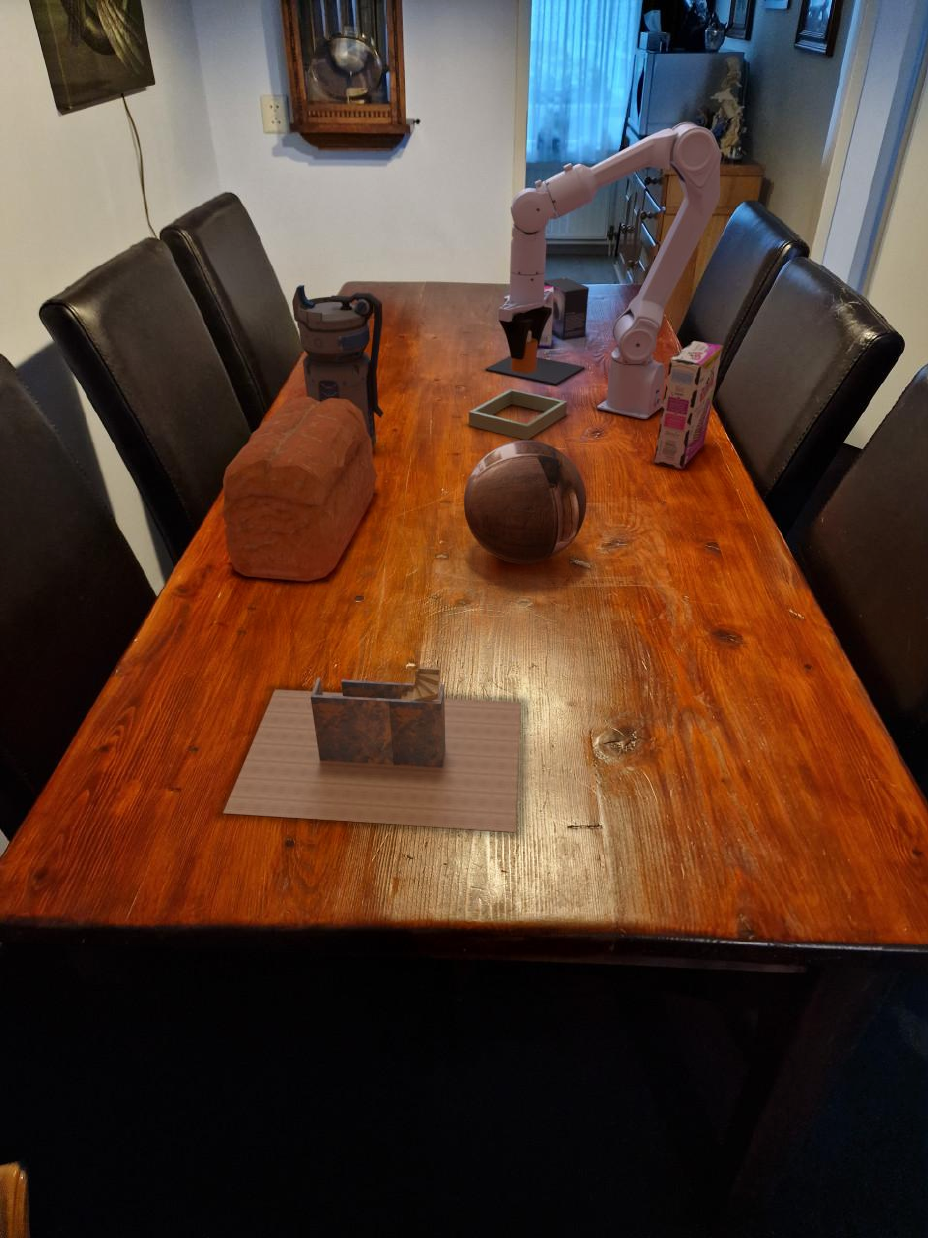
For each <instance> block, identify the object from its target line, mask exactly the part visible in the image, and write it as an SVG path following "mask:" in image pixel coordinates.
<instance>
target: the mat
mask: <svg viewBox="0 0 928 1238" xmlns="http://www.w3.org/2000/svg"><path fill="white" fill-rule="evenodd" d="M585 369H586V366H583V365H577V364H574V363H568V362H562V361H558V360H553V359H548V358H543V357H538V356H537V363H536V371H534V372H532V373H517V372H514V371H512V370H511V355H510V356H507V357H505V358H504V359H502V360H500V361H498V362H496V363H494V364H492V365H490V366H488V367H486V368H485V371H486V372H491V373H497V374H499V375H504V376H509V377H513V378H518V379H522V380H526V381H527V380H528V381H532V382H537V383H542V384H545V385H550V386H551V385H552V386H558V385H560V384H561V383H563V382H564V381H566V380H568V379H569V378H571V377H573V376H575V375H576V374H578V373H580V372H582V371H583V370H585Z"/></svg>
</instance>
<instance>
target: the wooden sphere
mask: <svg viewBox="0 0 928 1238" xmlns="http://www.w3.org/2000/svg"><path fill="white" fill-rule="evenodd" d="M463 511H464V518H465V520H466V524H467V527H468V528H469V531H470V532H471V533H470V534H472V536H473V538H474V539H475V541H476V542H477V543H478V544H479V545H480V546H481V547H482V548H483V549H484V550H485V551H486V552H488V553H489V554H490V555H492V556H493V557H495V558H498V559H500V560H502V561H504V562H507V563H512V564H518V565H530V564H531V565H532V564H536V563H537V564H538V563H541V562H544V561H547V560H550V559H552V558H554V557H556V556H557V555H559V554H560V553H562V552H563V551H565V549H567V548H568V547H569V546H570V545H571V544H572V542H573V541H574V540H575V539H576V537H577V536H578V534H579V532H580V530H581V528H582V526H583V523H584V521H585V517H586V512H587V491H586V487H585V482H584V479H583V477H582V475H581V473H580V471H579V469H578V468H577V466H576V465H575V464H574V462H573V461H572V459H570V457H568V456H567V455H566V454H565V453H563V452H562V451H560V450H559V449H557V448H556V447H554V446H552V445H550V444H547V443H544V442H541V441H536V440H516V441H511V442H507V443H504V444H502V445H500V446H497V447H495V448H494V449H492V450H491V451H489V452H488V453H486V454H485V455H484V456H483V457H482V458H481V459H480V461H478V462H477V464H476V465H475V467H474V468H473V469H472V471H471V473H470V475H469V477H468V479H467V482H466V485H465V489H464V495H463Z"/></svg>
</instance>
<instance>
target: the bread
mask: <svg viewBox="0 0 928 1238" xmlns="http://www.w3.org/2000/svg"><path fill="white" fill-rule="evenodd" d="M373 459H374V458H373V449H372V439H371V438H370V436H369V434H368V433H367V429H366V423H365V420H364V417H363V414H362V411H361V410H360V409H359V408H358V407H356V406H355V405H354V404H353V403H352V402H350V401H349V400H348V399H337V398H329V399H326V400H324V401H322V402H319V401H317V400H315V399H313V398H311V397H307V396H300V397H295V398H293V399H291V400H289V401H288V402H287V403H285V404H284V405H282V407H280V408H279V410H277V412H275V413H274V414H273V415H272V416H271V417H270V418H269V419H267V420H266V421H264V422H262V423H261V424H260V427H259V428H258V429H256V430H254V432H252V433H251V436H250V437H249V440H248V442H247V443H246V444H245V445H243V446H242V447H241V448H240V450H239V451H238V452H237V454H236V455H235V457H234V458H233V459H232V461H230V463H229V464H228V466H227V467H225V471H224V476H223V479H222V485H223V496H224V499H223V506H222V512H221V514H222V517H223V520H224V523H225V526H226V527H225V530H224V535H225V542H226V543H225V545H226V551H227V554H228V556H229V559H230V561H231V563H232V566H233V569H234V571H236V572H237V573H238V574H240V575H242V576H244V577H251V578H252V577H253V578H262V579H273V580H283V581H284V580H286V581H296V582H311V581H316V580H320V579H324V578H326V577H327V576H328V575H329V574H330V573H331V572H332V571H334V569H335V568H336V567H337V565H338V563H339V561H340V559H341V558H342V556H343V554H344V552H345V550H346V549H347V547H348V545H349V543H350V542H351V541H352V538H353V536H354V535H355V533H356V531H357V528H358V526H360V525H359V524H360V522H361V521H362V520H363V519H362V518H363V517H364V515H365V513H366V511H367V509H368V507H370V504H371V502H372V501H373V497H374V494H375V488H376V483H377V477H378V474H377V471H376V468H375V467H374V460H373Z"/></svg>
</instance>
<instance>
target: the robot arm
mask: <svg viewBox="0 0 928 1238" xmlns="http://www.w3.org/2000/svg"><path fill="white" fill-rule="evenodd" d="M722 155H723V154H722V151H721V149H720V147H719V144H718V142H717V139H716V137H715V135H714V133H713V132H712V131H711V130H709V129H708V128H706V127H704V126H699V125H697V124H696V123H694V122H691V121H683V122H680V123H677V124H676V125H674V126H673V127H672V128H670V127H669V128H665V129H662V130H659V131H657V132H655V133H653V134H651V135H648V136H646V137H644V138H643V139H640V140H638V141H637V142H635V143H633V144H632V145H630V146H627V147H626V148H624V149H622V150H621V151H619V152H616V153H614V154H613V155H612V156H610V157H608V158H606V159H604V160H602V161H599V162H598V163H597V164H594V165H593V166H590V167H589V166H586V165H584V164H582V163H577V164H575V165H573V164H572V163H571V162H569V163H568V164H565V165H563V171H561V172H558V173H557V174H555V175H553V176H551V177H549V178H547V179H546V180H543V181H542V180H541V179H538V180H536V181H534V186H535V188H532V187H526V188H523V189H522V190H520V191H518V192H517V194H515V196H514V198H513V200H512V202H511V206H510V214H511V217H512V221H513V224H512V227H511V237H512V239H511V241H510V265H509V267H510V268H509V269H510V271H509V275H510V276H509V295H505V296H504V297H503V302H505V303H504V304H503V305H502V306H500V307H499V308H498V322H499V324H500V326H501V327H502V330H503V332H504V334H505V337H506V341H507V345H508V350H509V353H510V356H511V358H515V359H520V360H522V359H523V357H524V354H525V347H526V340H527V335H528V332H529V331H531V332H532V333H531V338H535V339H536V340H537V341H538V342H537V351H538V350H539V348H538V347H539V344H540V340H541V336H542V333H543V330H544V327H545V325H546V323H547V321H548V319H549V317H550V316H551V314H552V308H549V307H544V305H545V303H547V304H549V303H551V302H552V291H548V290H544V282H545V280H546V261H547V259H546V258H547V241H546V229H547V227H546V226H548V224H549V221H550V220H557V219H559V218H561V217H563V216H566V215H567V214H570V213H571V212H573V211H575V210H578V209H579V208H582V207H584V206H586V205H587V204H588V205H589V204H590V203H592V202H593V201H594V198H595V196H596V193H597V191H598V190H599V189H601V188H603V187H605V186H608V185H610V184H612V183H614V182H616V181H620V180H621V179H623V178H624V179H625V178H626V177H628V176H630V175H633V174H634V173H637V172H639V171H641V170H644V169H646V168H654V169H661V170H670V169H672V170H673V171H674V173H675V174H676V176H677V177H678V182H679V184H680V188H681V191H682V193H683V201H682V203H681V205H680V206H679V209H678V211H677V213H676V215H675V217H674V219H673V221H672V223H671V225H670V227H669V230H668V232H667V234H666V236H665V238H664V240H663V242H662V243H661V246H660V248H659V250H658V252H657V254H656V256H655V258H654V261H653V262H652V264H651V266H650V269H649V271H648V273H647V275H646V277H645V279H644V281H643V283H642V284H641V287H640V289H639V291H638V294H637V295H636V296H635V297H634V298H633V299H632V300H631V301H630V303H629V305H628V306H627V309H626V310H625V311H624V312H623V313H621V314H620V315H619V316H618V317H617V318H616V320H615V321H614V324H613V326H612V337H613V339H614V341H615V343H616V346H615V347H614V349H613V350H612V352H611V353H610V358H609V359H610V360H609V369H608V378H607V379H608V381H607V388H606V389H607V390H606V399H605V400H604V401H602V402H601V403H599V404H598V405H597V406H596V409H597V410H600V411H605V412H609V413H615V414H619V415H622V416H627V417H632V418H637V419H640V420H647V419H649V418H650V417H651V416H652V415H653V414H655V413H656V412H657V411H658V410H660V409H661V408H663V399H664V392H665V385H666V384H665V383H666V378H667V377H666V376H667V369H666V368H667V367H666V365H665V364H664V363H663V362H659V361H656V360H655V359H654V353H655V351H656V350H657V349H656V348H657V345H658V344H657V343H658V340H657V339H658V334H659V331H660V330H661V327H662V324H663V318H664V313H665V309H666V307H667V306H668V303H669V300H670V299H671V297H672V295H673V293H674V291H675V289H676V287H677V285H678V283H679V281H680V279H681V277H682V275H683V273H684V272H685V269H686V267H687V265H688V264H689V261H690V260H691V258H692V255H693V253H694V252H695V250H696V248H697V246H698V243H699V242H700V240H701V238H702V236H703V234H704V232H705V230H706V228H707V226H708V224H709V222H710V221H711V219H712V216H713V214H714V212H715V210H716V209H717V206H718V204H719V202H720V200H721V199H720V198H721V162H722V161H721V160H722Z"/></svg>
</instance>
